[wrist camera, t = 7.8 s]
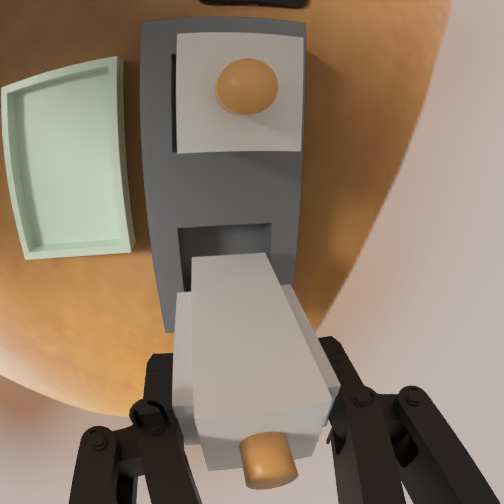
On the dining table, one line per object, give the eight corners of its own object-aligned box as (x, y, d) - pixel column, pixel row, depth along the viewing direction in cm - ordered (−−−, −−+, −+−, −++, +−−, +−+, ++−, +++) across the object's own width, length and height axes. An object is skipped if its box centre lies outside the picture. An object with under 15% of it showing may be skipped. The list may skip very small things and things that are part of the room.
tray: (34, 249, 20) (25, 259, 18) (13, 88, 14) (1, 87, 13) (135, 241, 21) (131, 252, 20) (123, 60, 16) (117, 55, 14)
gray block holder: (168, 301, 24) (160, 435, 13) (152, 37, 15) (96, -46, 4) (277, 293, 25) (329, 415, 14) (286, 37, 17) (387, -29, 6)
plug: (197, 316, 18) (212, 504, 8) (191, 257, 16) (197, 464, 6) (262, 311, 19) (322, 486, 8) (265, 252, 17) (350, 439, 7)
